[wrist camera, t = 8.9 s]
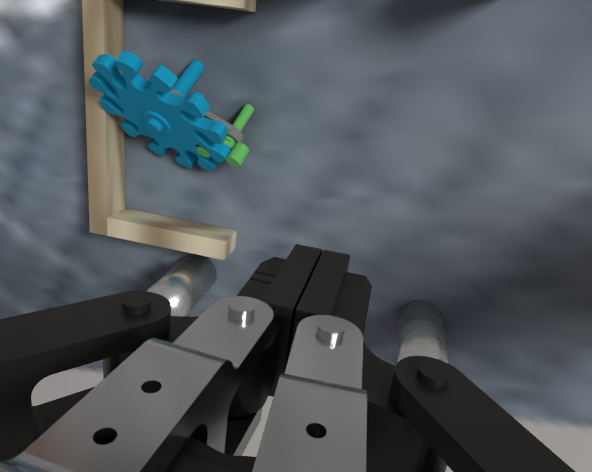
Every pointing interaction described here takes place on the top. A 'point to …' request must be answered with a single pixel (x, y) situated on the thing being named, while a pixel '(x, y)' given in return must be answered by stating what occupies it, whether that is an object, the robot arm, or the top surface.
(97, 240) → the top surface
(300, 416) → the robot arm
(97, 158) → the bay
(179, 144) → the gear
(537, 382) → the top surface
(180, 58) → the top surface
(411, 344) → the spacer field
